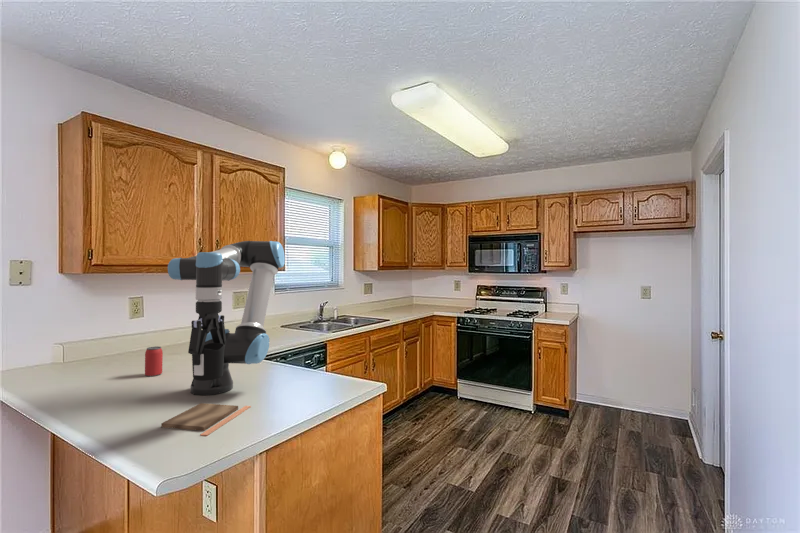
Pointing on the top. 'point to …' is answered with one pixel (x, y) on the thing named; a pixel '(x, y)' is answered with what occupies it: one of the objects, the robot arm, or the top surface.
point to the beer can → (153, 361)
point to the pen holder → (211, 362)
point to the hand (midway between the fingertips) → (208, 370)
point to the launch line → (224, 421)
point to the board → (200, 417)
